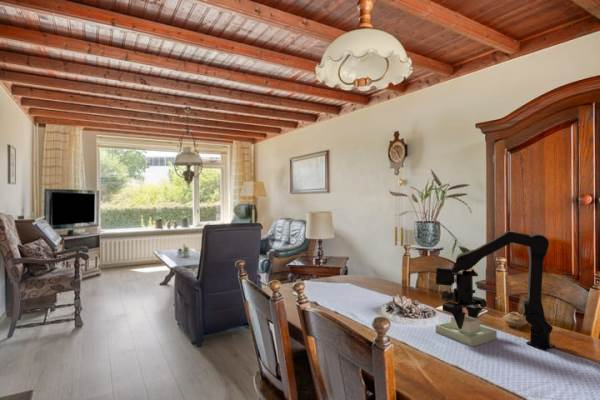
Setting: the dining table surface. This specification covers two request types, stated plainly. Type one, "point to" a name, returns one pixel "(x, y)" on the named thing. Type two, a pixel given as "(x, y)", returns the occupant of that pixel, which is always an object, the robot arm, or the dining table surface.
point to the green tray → (464, 338)
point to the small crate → (467, 325)
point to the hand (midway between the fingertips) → (465, 327)
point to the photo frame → (466, 315)
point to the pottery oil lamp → (515, 319)
